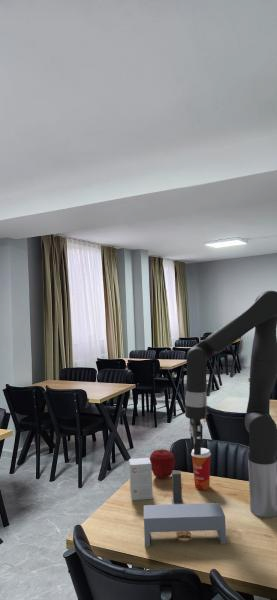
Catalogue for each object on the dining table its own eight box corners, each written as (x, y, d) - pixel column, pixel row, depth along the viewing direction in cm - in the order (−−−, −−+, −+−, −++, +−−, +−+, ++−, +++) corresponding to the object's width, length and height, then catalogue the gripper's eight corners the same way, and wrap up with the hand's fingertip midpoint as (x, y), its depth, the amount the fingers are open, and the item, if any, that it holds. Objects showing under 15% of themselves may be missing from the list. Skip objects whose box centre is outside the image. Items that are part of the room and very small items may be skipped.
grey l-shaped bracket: (182, 501, 140) (181, 470, 140) (188, 528, 122) (187, 492, 123) (171, 502, 140) (170, 470, 140) (175, 528, 122) (174, 492, 123)
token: (190, 534, 120) (190, 530, 120) (192, 542, 115) (192, 538, 115) (176, 534, 120) (175, 530, 120) (177, 543, 115) (177, 538, 115)
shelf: (220, 528, 121) (219, 502, 122) (226, 543, 113) (225, 516, 114) (144, 531, 121) (143, 505, 122) (144, 546, 113) (143, 518, 114)
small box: (150, 491, 149) (149, 457, 149) (153, 499, 143) (151, 463, 143) (129, 493, 148) (128, 458, 149) (131, 500, 142) (130, 464, 142)
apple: (165, 485, 154) (164, 455, 154) (144, 478, 161) (143, 450, 161) (180, 476, 162) (179, 448, 162) (160, 470, 169) (159, 443, 169)
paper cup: (189, 484, 154) (187, 448, 154) (206, 481, 156) (205, 446, 157) (197, 492, 146) (196, 455, 147) (215, 489, 149) (214, 452, 149)
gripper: (210, 408, 129) (209, 457, 129) (203, 399, 143) (202, 443, 143) (188, 408, 129) (187, 457, 129) (183, 399, 143) (182, 443, 143)
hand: (195, 450), depth 136 cm, fingers open, 8 cm apart
